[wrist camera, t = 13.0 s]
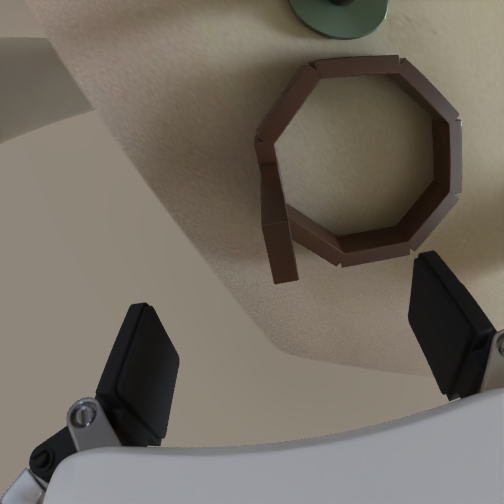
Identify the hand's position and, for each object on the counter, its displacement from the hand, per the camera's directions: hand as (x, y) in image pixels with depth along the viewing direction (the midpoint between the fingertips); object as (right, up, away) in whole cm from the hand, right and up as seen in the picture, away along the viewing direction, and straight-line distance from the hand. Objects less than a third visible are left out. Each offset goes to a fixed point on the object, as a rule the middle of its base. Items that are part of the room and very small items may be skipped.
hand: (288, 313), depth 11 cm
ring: (+8, +10, +14) cm, 19 cm away
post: (+5, +22, +7) cm, 23 cm away
